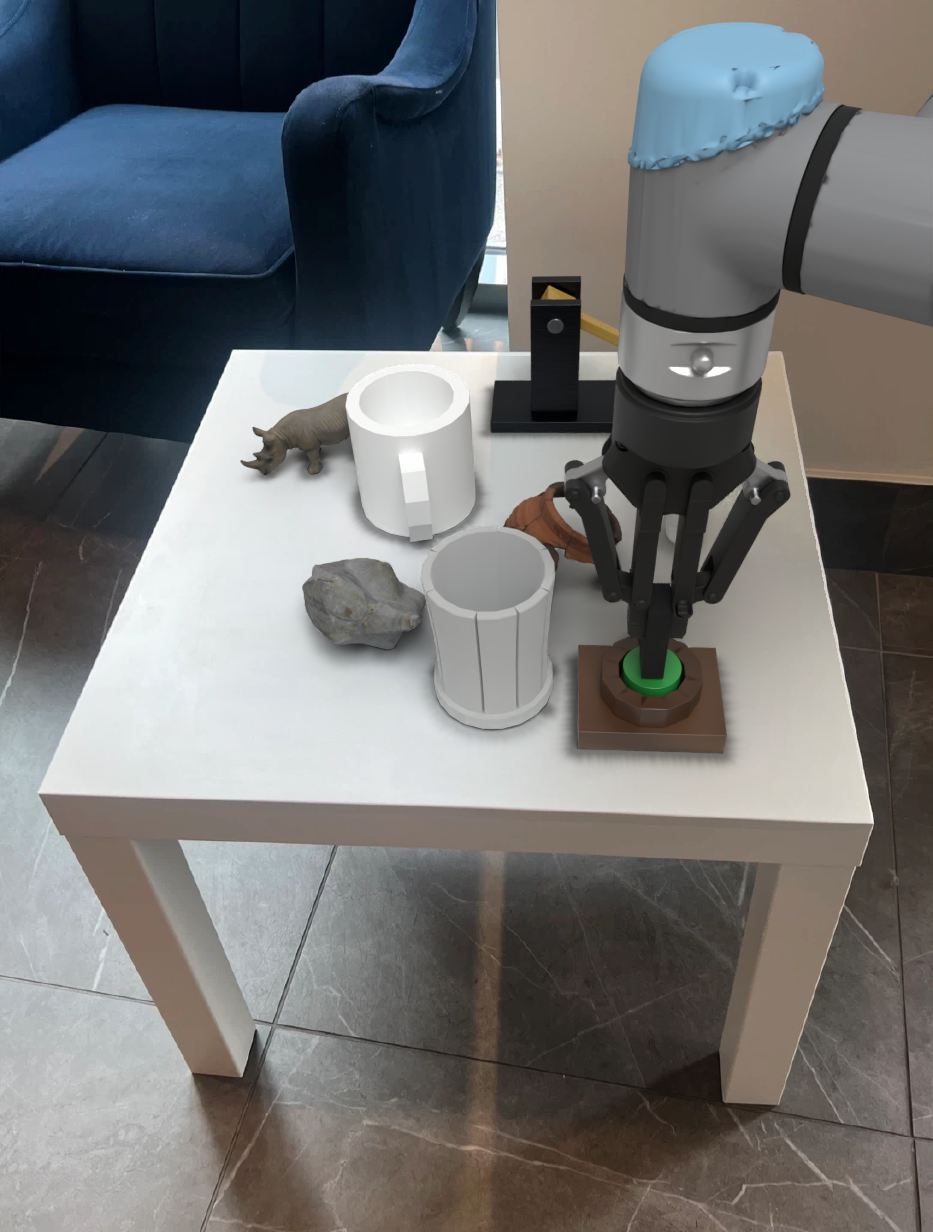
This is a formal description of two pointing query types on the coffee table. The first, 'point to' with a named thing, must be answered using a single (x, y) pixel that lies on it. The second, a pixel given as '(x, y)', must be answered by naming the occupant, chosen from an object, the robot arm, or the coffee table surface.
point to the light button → (651, 685)
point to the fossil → (361, 602)
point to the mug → (413, 449)
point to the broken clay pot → (555, 526)
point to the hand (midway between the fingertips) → (651, 663)
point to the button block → (649, 703)
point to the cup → (490, 624)
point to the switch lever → (587, 319)
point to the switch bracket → (554, 373)
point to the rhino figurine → (302, 435)
